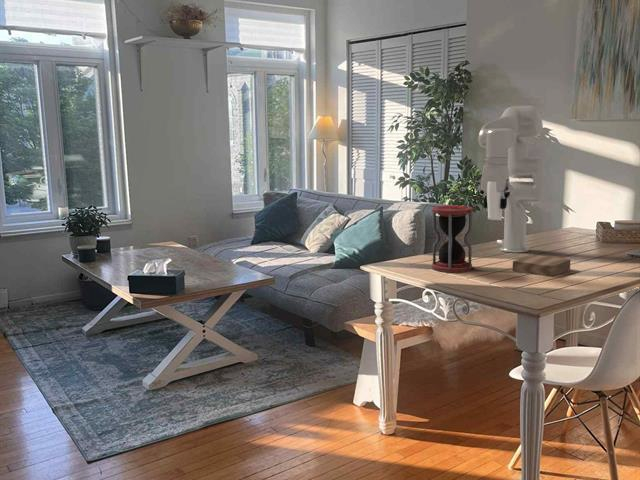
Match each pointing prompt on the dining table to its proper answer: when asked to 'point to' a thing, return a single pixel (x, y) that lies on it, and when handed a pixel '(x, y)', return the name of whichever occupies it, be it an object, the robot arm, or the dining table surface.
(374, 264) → the dining table surface
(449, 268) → the hourglass
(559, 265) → the walnut block
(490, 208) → the white tapered cylinder
